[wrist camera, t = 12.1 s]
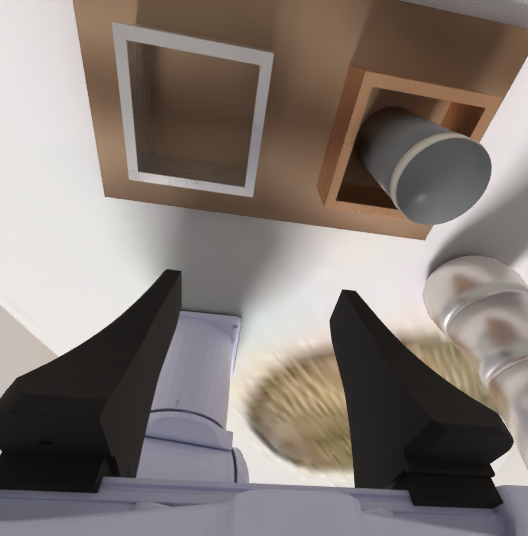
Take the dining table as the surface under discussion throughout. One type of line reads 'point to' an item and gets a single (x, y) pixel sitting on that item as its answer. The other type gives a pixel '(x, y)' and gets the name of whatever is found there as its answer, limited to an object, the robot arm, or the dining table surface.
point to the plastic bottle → (487, 330)
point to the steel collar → (140, 113)
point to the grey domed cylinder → (423, 165)
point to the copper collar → (349, 118)
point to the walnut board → (282, 92)
